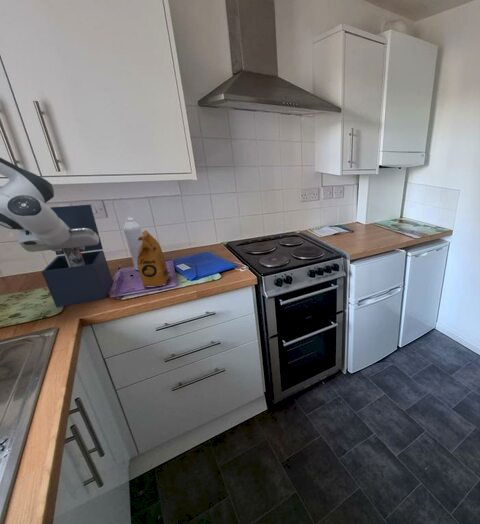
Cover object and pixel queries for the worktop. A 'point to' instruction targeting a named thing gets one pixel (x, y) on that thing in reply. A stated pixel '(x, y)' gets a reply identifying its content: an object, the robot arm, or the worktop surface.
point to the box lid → (78, 221)
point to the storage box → (78, 279)
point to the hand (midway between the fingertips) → (72, 250)
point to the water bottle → (133, 238)
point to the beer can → (73, 257)
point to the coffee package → (151, 262)
